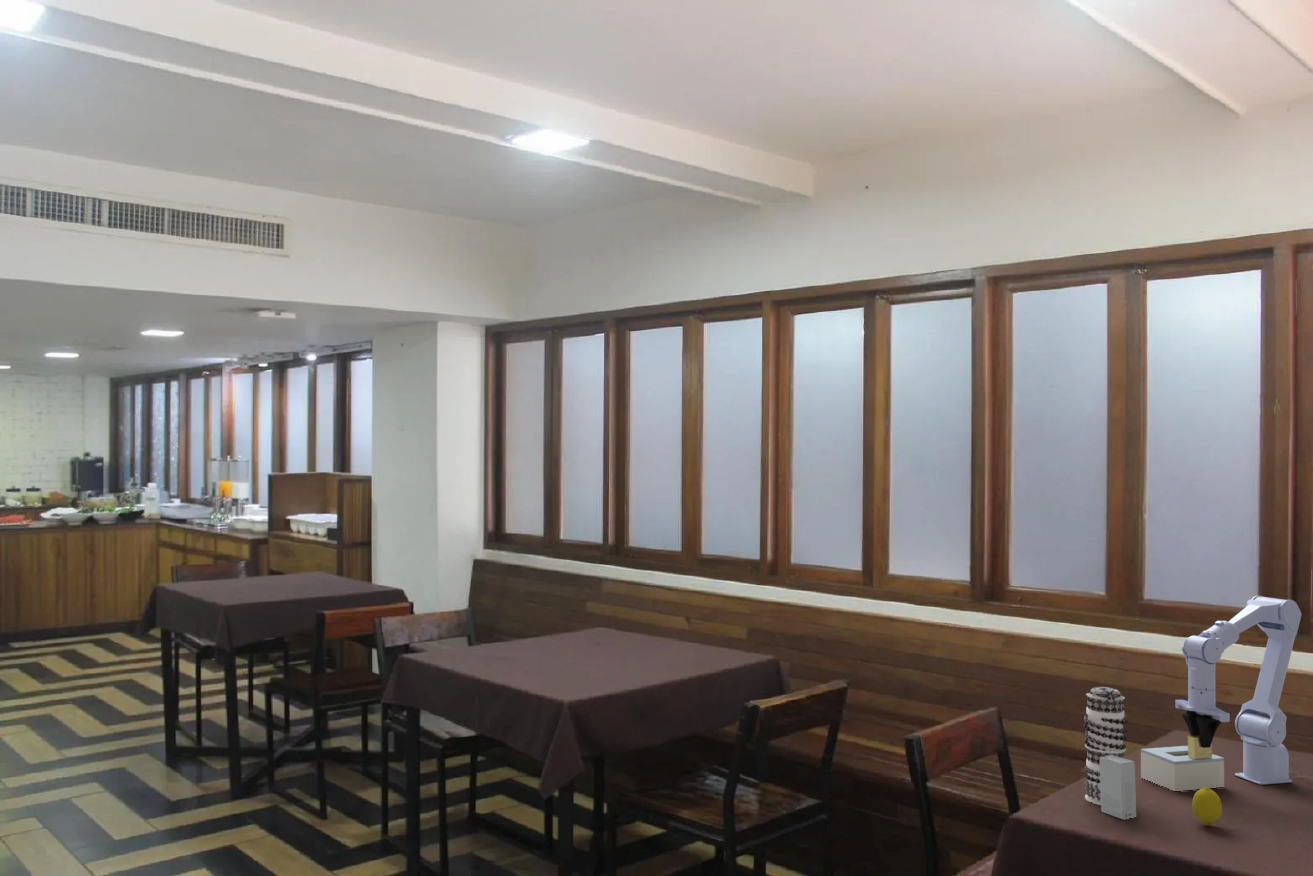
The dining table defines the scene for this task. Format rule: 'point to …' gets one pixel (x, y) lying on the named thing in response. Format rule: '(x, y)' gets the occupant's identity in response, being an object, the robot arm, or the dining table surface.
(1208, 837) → the dining table surface
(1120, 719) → the decorative candle
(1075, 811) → the dining table surface
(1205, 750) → the tan wooden block
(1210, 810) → the lemon
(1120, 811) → the skincare box
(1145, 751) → the tissue box
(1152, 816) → the dining table surface
